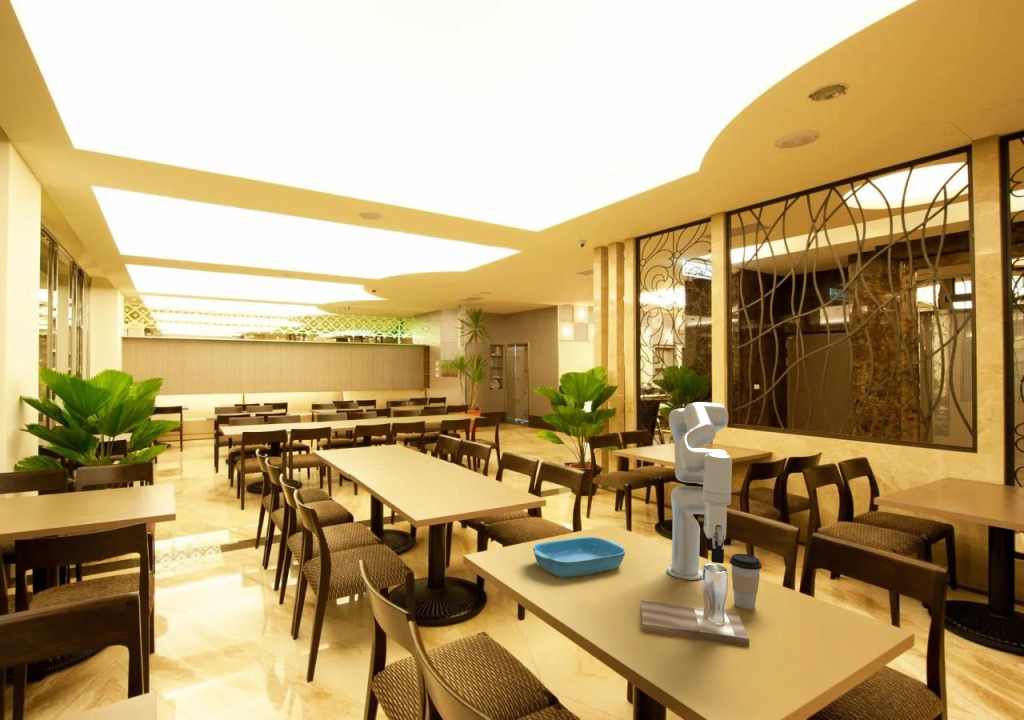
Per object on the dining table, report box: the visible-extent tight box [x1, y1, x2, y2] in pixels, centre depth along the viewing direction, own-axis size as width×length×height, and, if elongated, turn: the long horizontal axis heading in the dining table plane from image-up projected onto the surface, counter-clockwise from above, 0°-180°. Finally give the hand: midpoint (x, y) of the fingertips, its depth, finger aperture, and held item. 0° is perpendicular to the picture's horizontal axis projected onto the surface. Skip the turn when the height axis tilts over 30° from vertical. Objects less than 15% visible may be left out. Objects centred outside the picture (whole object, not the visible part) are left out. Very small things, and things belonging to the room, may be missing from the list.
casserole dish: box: [532, 536, 627, 579], centre depth 196 cm, size 37×22×7 cm, turn 120°
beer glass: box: [701, 563, 729, 625], centre depth 151 cm, size 7×7×15 cm
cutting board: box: [640, 599, 750, 647], centre depth 152 cm, size 16×28×2 cm, turn 77°
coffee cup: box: [729, 553, 763, 610], centre depth 167 cm, size 9×9×15 cm
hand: (714, 556), depth 152 cm, fingers open, 9 cm apart
